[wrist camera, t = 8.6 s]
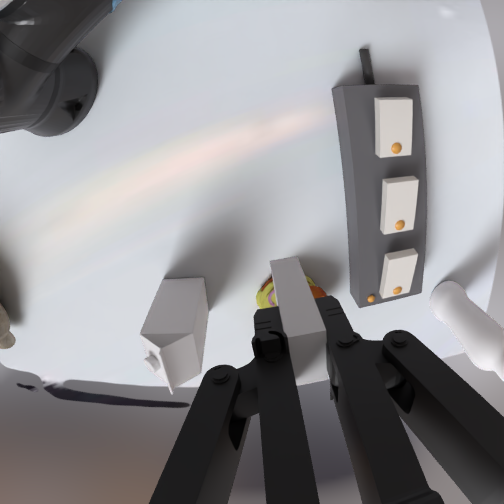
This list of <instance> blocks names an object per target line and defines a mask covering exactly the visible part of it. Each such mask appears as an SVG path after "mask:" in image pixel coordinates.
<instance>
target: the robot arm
mask: <svg viewBox="0 0 504 504" xmlns="http://www.w3.org/2000/svg"><path fill="white" fill-rule="evenodd" d="M121 1H122V0H0V133H5V132H10V131H15V130H21V129H25V130H27V131H29V132H31V133H33V134H35V135H38V136H43V137H51V136H57V135H62V134H65V133H67V132H69V131H71V130H72V129H74V128H75V127H76V126H77V125H78V124H79V123H80V122H81V121H82V120H83V119H84V118H85V117H86V115H87V114H88V112H89V110H90V108H91V106H92V104H93V102H94V99H95V96H96V92H97V85H98V76H97V70H96V66H95V64H94V62H93V60H92V58H91V57H90V56H89V54H88V53H86V52H85V51H84V50H82V49H80V48H77V47H76V45H77V44H78V43H79V42H80V41H81V40H82V39H83V38H84V37H85V36H86V35H87V34H88V33H89V32H90V31H91V30H92V29H93V28H94V27H95V26H96V25H97V24H98V23H99V22H100V21H101V20H102V19H103V18H104V17H105V16H106V15H107V14H108V13H112V12H113V11H114V10H115V8H116V6H117V5H118V4H119V3H120V2H121ZM270 265H271V272H272V278H273V284H274V290H275V296H276V302H277V306H275V307H269V308H263V309H258V310H257V311H256V313H255V315H254V328H255V336H254V337H253V338H252V347H253V351H254V356H255V358H254V359H253V360H252V361H251V362H250V363H249V364H247V365H245V366H243V367H241V368H238V369H236V368H234V367H233V366H230V365H218V366H215V367H213V368H211V369H210V370H208V371H207V372H206V374H205V375H204V377H203V380H202V382H201V384H200V387H199V389H198V391H197V394H196V396H195V398H194V401H193V403H192V405H191V408H190V410H189V412H188V415H187V417H186V419H185V422H184V424H183V426H182V429H181V431H180V433H179V436H178V438H177V440H176V442H175V445H174V447H173V449H172V451H171V454H170V456H169V458H168V461H167V463H166V465H165V468H164V470H163V472H162V475H161V477H160V479H159V481H158V484H157V486H156V488H155V491H154V493H153V495H152V497H151V500H150V502H149V504H227V503H228V500H229V496H230V493H231V489H232V486H233V482H234V479H235V475H236V472H237V468H238V464H239V461H240V457H241V454H242V450H243V446H244V442H245V439H246V435H247V431H248V427H249V424H250V420H251V416H252V415H255V414H257V413H259V415H260V427H261V440H262V454H263V465H264V478H265V491H266V503H267V504H320V503H319V498H318V492H317V487H316V482H315V476H314V471H313V466H312V461H311V456H310V450H309V446H308V440H307V436H306V430H305V425H304V420H303V415H302V410H301V405H300V400H299V395H298V390H297V386H298V385H303V384H308V383H313V382H318V381H323V380H328V375H329V378H330V391H331V392H330V399H331V400H333V399H334V402H335V406H336V409H337V412H338V416H339V420H340V423H341V427H342V430H343V433H344V437H345V441H346V444H347V448H348V451H349V455H350V459H351V462H352V466H353V469H354V473H355V477H356V480H357V484H358V488H359V492H360V495H361V500H362V504H444V501H443V499H442V498H441V496H440V495H439V493H437V492H436V491H433V490H431V489H430V488H429V486H428V484H427V481H426V479H425V476H424V473H423V471H422V469H421V466H420V464H419V461H418V459H417V456H416V454H415V452H414V449H413V447H412V444H411V442H410V440H409V437H408V435H407V433H406V430H405V428H404V426H403V424H402V421H401V419H400V417H401V418H402V419H403V421H404V422H405V423H406V424H407V425H408V427H409V428H410V429H411V430H412V431H413V433H414V434H415V435H416V436H417V437H418V439H419V440H420V441H421V442H422V443H423V445H424V446H425V447H426V448H427V450H428V451H429V452H430V453H431V454H432V456H433V457H434V458H435V459H436V460H437V462H438V463H439V464H440V465H441V466H442V468H443V469H444V470H445V471H446V473H447V474H448V475H449V476H450V477H451V479H452V480H453V481H454V482H455V483H456V485H457V486H458V487H459V488H460V489H461V491H462V492H463V493H464V494H465V496H466V497H467V498H468V499H469V501H470V502H471V503H472V504H504V417H503V416H502V415H501V414H500V413H499V412H498V411H497V410H496V409H495V408H494V407H492V406H491V405H490V404H489V403H488V402H487V401H486V400H485V399H484V398H483V397H481V395H480V394H478V393H477V392H476V391H475V390H474V389H473V388H472V387H471V386H470V385H469V384H468V383H467V382H465V381H464V380H463V379H462V378H461V377H460V376H459V375H458V374H457V373H456V372H454V371H453V370H452V369H451V368H450V367H449V366H448V365H447V364H445V363H444V362H443V361H442V360H441V359H440V358H439V357H438V356H437V355H435V354H434V353H433V352H432V351H431V350H430V349H429V348H427V347H426V346H425V345H424V344H423V343H422V342H421V341H419V340H418V339H417V338H416V337H415V336H414V335H412V334H411V333H409V332H408V331H404V330H394V331H391V332H389V333H387V334H386V335H385V336H384V338H383V340H381V341H372V340H365V339H362V337H361V336H360V335H359V334H358V333H356V332H354V331H353V329H352V327H351V325H350V323H349V321H348V319H347V317H346V315H345V313H344V311H343V309H342V307H341V305H340V303H339V301H338V300H337V299H336V298H334V297H333V296H331V295H330V296H325V297H320V298H315V299H314V297H313V295H312V292H311V290H310V287H309V285H308V282H307V280H306V277H305V275H304V272H303V270H302V267H301V265H300V262H299V260H298V257H297V256H295V257H290V258H284V259H278V260H273V261H270ZM399 416H400V417H399Z"/></svg>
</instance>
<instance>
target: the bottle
mask: <svg viewBox="0 0 504 504" xmlns="http://www.w3.org/2000/svg"><path fill="white" fill-rule="evenodd" d="M429 305H430V309H431V311H432V313H433V315H434V316H435V317H436V318H437V319H438V320H439V321H441V322H444V323H445V324H446V325H447V326H448V327H449V329H450V330H451V332H452V333H453V335H454V336H455V337H456V339H457V340H458V342H459V343H460V345H461V346H462V348H463V349H464V351H465V352H466V354H467V355H468V357H469V358H470V360H471V361H472V363H473V364H474V365H475V366H477V367H478V368H480V369H482V370H487V371H495V372H496V373H497V374H498V376H499V377H500V378H501V379H502V381H503V382H504V329H503V328H502V327H501V326H500V325H499V324H498V323H497V322H496V321H495V320H493V319H492V318H491V317H490V316H489V315H488V314H487V313H485V312H484V311H483V310H482V309H481V308H480V307H478V306H477V305H476V304H475V303H474V302H472V301H471V300H470V299H469V298H468V296H467V294H466V291H465V290H464V289H463V288H462V287H461V286H460V285H459V284H458V283H456V282H454V281H445V282H442V283H441V284H439V285H438V286H437V287H436V288H435V289H434V291H433V292H432V294H431V296H430V301H429Z"/></svg>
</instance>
